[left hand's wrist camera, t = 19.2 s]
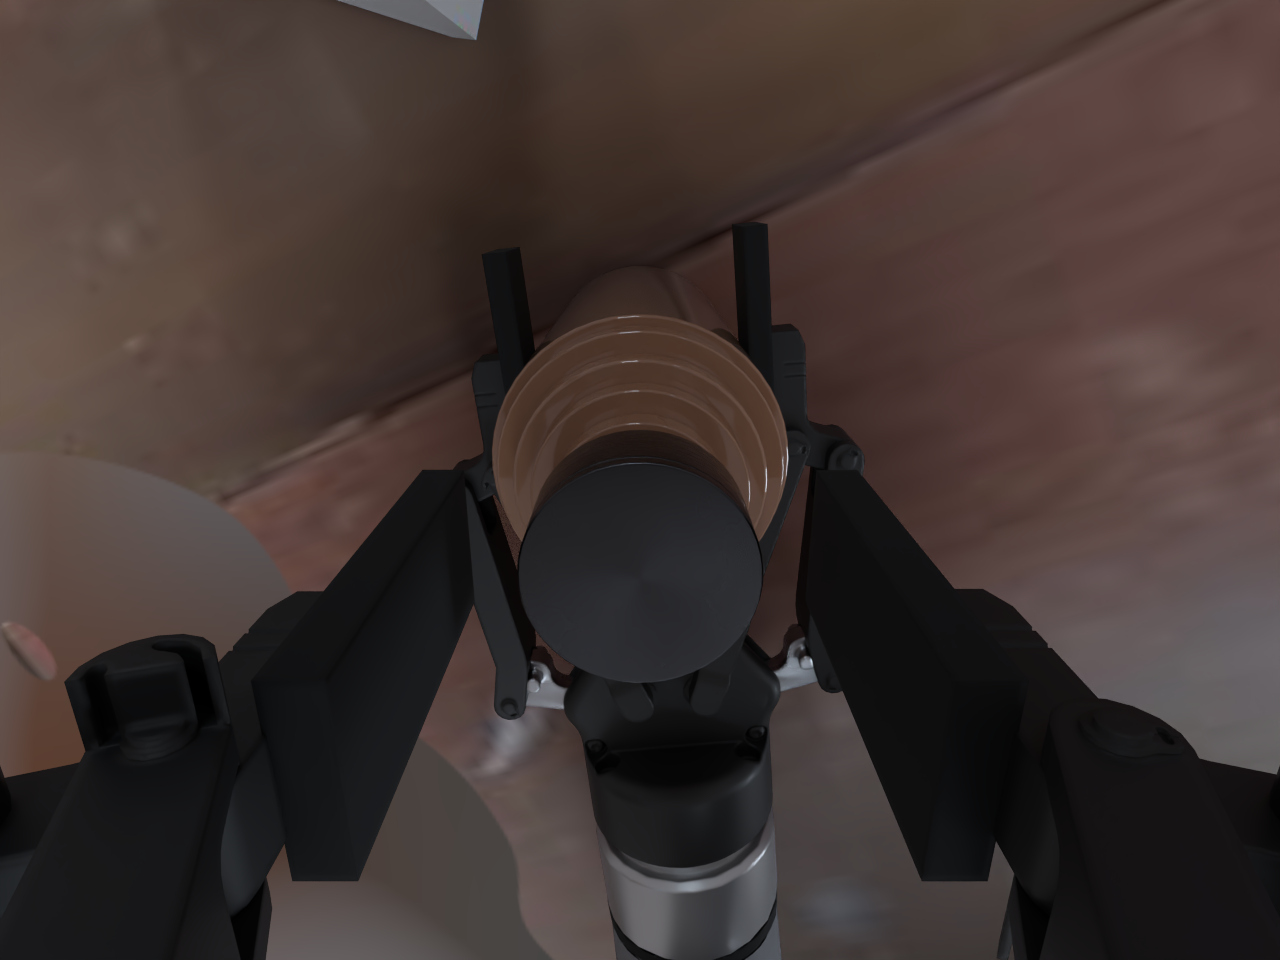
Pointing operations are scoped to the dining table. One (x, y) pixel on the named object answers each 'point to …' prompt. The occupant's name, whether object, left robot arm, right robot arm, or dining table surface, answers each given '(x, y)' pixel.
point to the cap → (640, 558)
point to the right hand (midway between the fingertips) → (624, 238)
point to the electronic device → (431, 14)
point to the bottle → (640, 390)
